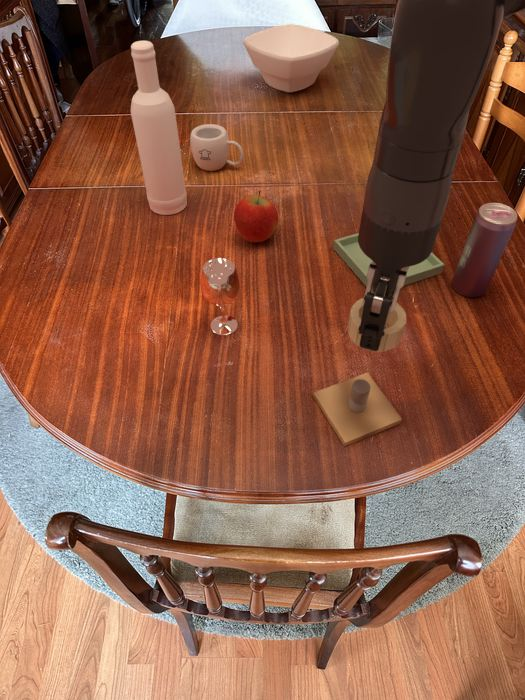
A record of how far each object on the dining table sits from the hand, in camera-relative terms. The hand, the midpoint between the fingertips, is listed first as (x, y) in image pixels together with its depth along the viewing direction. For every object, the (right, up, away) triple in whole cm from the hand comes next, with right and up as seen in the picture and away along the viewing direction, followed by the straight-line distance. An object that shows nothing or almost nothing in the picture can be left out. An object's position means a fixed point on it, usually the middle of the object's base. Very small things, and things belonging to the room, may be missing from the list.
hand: (375, 326), depth 61 cm
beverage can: (+22, +8, +27) cm, 36 cm away
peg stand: (0, -11, +11) cm, 15 cm away
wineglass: (-20, +1, +22) cm, 29 cm away
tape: (0, -1, +1) cm, 1 cm away
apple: (-15, +19, +37) cm, 44 cm away
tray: (+9, +14, +32) cm, 36 cm away
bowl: (-6, +72, +83) cm, 110 cm away
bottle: (-33, +27, +44) cm, 62 cm away
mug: (-23, +39, +54) cm, 71 cm away
